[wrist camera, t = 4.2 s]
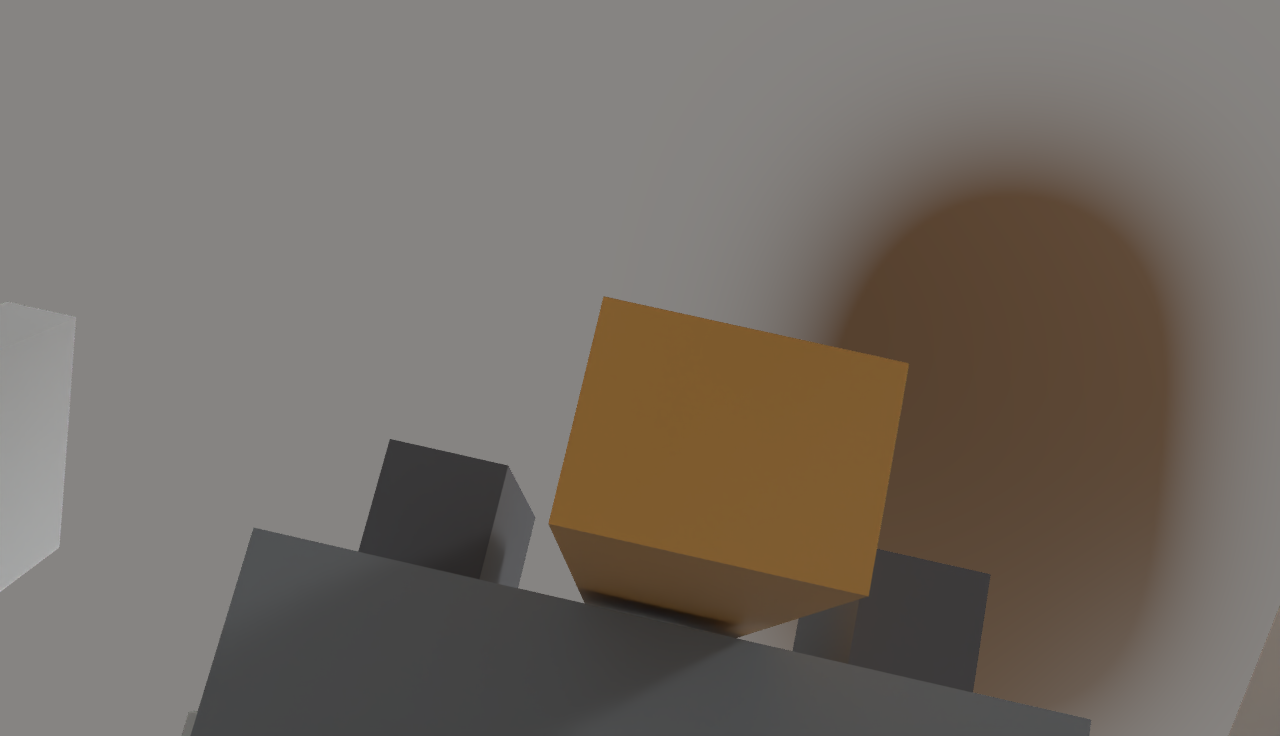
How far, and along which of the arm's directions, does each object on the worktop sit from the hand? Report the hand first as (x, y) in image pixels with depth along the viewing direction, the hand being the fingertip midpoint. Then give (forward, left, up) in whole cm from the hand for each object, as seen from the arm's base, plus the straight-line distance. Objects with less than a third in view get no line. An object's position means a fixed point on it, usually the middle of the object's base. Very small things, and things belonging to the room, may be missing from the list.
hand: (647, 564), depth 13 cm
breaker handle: (-1, -11, 0) cm, 11 cm away
